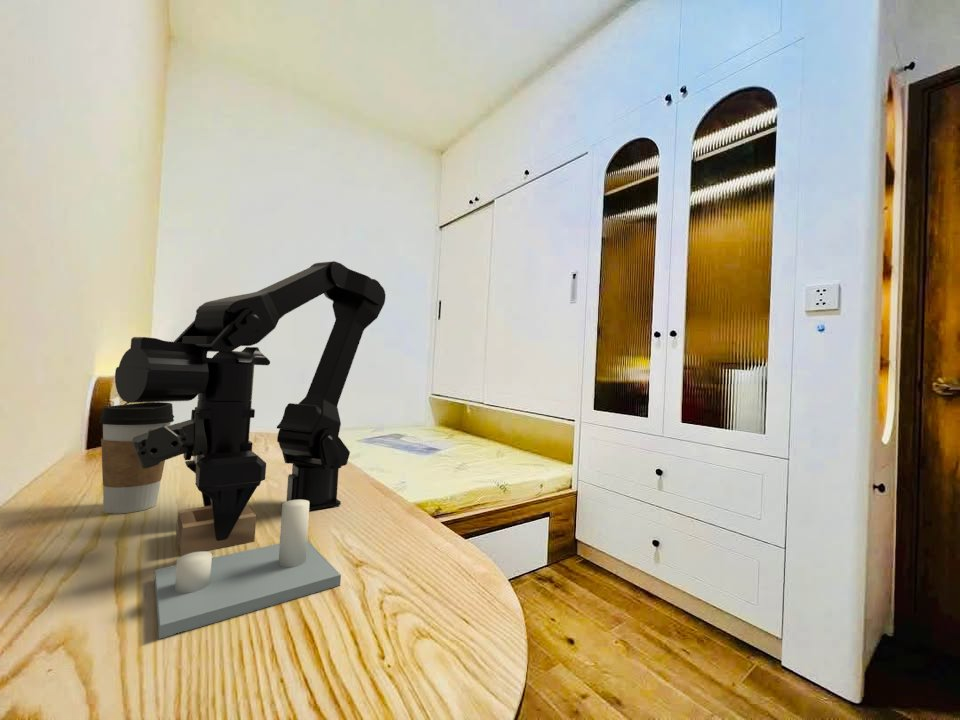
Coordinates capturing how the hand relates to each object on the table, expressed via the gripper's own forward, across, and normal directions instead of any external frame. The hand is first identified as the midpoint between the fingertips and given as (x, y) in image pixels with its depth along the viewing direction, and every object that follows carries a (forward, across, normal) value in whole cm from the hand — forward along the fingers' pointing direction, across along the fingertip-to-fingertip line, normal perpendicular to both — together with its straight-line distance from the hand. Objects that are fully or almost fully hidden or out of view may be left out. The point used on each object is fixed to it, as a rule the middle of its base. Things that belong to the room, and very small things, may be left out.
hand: (215, 527), depth 50 cm
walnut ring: (+1, 0, 0) cm, 1 cm away
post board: (+1, +14, +1) cm, 14 cm away
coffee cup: (+1, -19, -8) cm, 21 cm away
